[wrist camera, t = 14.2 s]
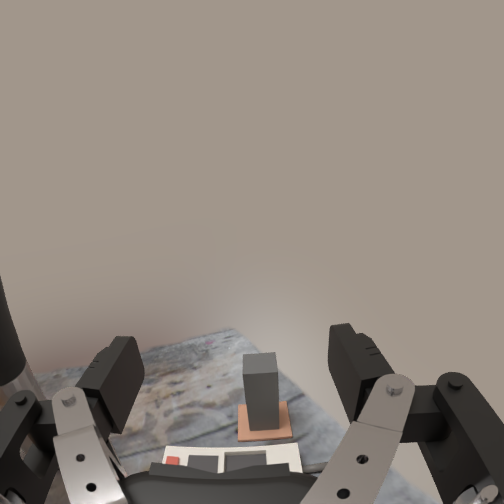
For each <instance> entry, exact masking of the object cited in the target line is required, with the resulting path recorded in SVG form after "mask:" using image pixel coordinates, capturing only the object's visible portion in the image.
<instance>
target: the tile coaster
mask: <svg viewBox="0 0 504 504" xmlns="http://www.w3.org/2000/svg"><path fill="white" fill-rule="evenodd" d="M285 438H292V432H291V426H290V420H289V414H288V408H287V403H286V401H283V402H279V429H276V430H262V431H250V429H249V422H248V414H247V406H246V404H244V405H238V442H247V441H263V440H275V439H285Z"/></svg>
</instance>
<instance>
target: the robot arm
mask: <svg viewBox="0 0 504 504" xmlns="http://www.w3.org/2000/svg"><path fill="white" fill-rule="evenodd" d="M328 366H329V371H330V373H331V376H332V378H333V381H334V383H335V386H336V388H337V391H338V393H339V396H340V398H341V401H342V404H343V406H344V409H345V412H346V414H347V417H348V419H349V422H350V424H351V425H350V427H349V429H348V430H347V432H346V434H345V436H344V437H343V439H342V441H341V442H340V444H339V446H338V448H337V449H336V451H335V452H334V454H333V456H332V457H331V459H330V460H329V462H328V464H327V465H326V467H325V468H324V470H323V471H322V473H321V474H320V476H319V477H315V476H313V475H309V474H305V473H300V472H292V471H290V468H289V463H280V464H269V465H254V466H250V467H246V468H241V469H237V470H233V471H228V472H223V473H212V472H208V471H204V470H199V469H195V468H192V467H188V466H184V465H173V464H162V463H153V462H152V463H151V466H150V470H149V471H145V472H140V473H136V474H132V475H130V476H128V475H127V473H126V471H125V470H124V468H123V466H122V464H121V462H120V460H119V458H118V456H117V454H116V452H115V449H114V447H113V445H112V443H111V441H110V439H109V438H108V437H109V435H110V432H111V433H117V434H122V431H123V429H124V426H125V424H126V421H127V419H128V416H129V414H130V411H131V409H132V406H133V404H134V402H135V399H136V397H137V394H138V392H139V390H140V387H141V385H142V383H143V380H144V374H145V372H144V366H143V362H142V359H141V356H140V353H139V350H138V346H137V343H136V340H135V338H134V337H132V336H130V337H128V336H116V337H115V339H114V340H113V341H112V343H111V344H110V346H109V347H106V348H104V349H103V350H102V351H100V352H99V353H98V354H97V355H96V357H95V358H94V359H93V362H91V364H90V365H89V368H87V370H86V371H85V372H84V374H83V375H82V377H81V378H80V380H79V381H78V383H77V384H76V386H75V387H67V388H64V389H62V390H60V391H58V392H57V393H56V394H55V395H54V397H53V399H52V400H47V399H46V397H45V396H44V394H43V392H42V390H41V388H40V386H39V384H38V382H37V380H36V378H35V376H34V375H33V373H32V370H31V369H30V366H29V364H28V362H27V360H26V358H25V356H24V353H23V351H22V348H21V345H20V342H19V339H18V336H17V333H16V330H15V327H14V325H13V321H12V319H11V315H10V312H9V309H8V305H7V301H6V297H5V293H4V289H3V285H2V281H1V277H0V504H44V502H45V499H46V497H47V494H48V491H49V489H50V486H51V484H52V481H53V479H54V476H55V474H56V471H57V469H59V468H60V471H61V474H62V478H63V481H64V485H65V488H66V491H67V494H68V497H69V500H70V503H71V504H373V503H374V501H375V499H376V497H377V495H378V492H379V490H380V488H381V486H382V484H383V482H384V479H385V477H386V475H387V473H388V470H389V468H390V465H391V463H392V460H393V458H394V455H395V453H396V450H397V447H398V445H399V443H409V442H417V443H418V445H419V447H420V450H421V452H422V454H423V456H424V459H425V461H426V463H427V466H428V468H429V470H430V473H431V475H432V477H433V480H434V482H435V484H436V487H437V489H438V492H439V494H440V497H441V499H442V502H443V504H504V424H503V422H502V421H501V420H500V418H499V417H498V416H497V414H496V413H495V411H494V410H493V409H492V408H491V406H490V405H489V403H488V402H487V401H486V399H485V398H484V397H483V396H482V394H481V393H480V392H479V391H478V389H477V388H476V387H475V386H474V384H473V383H472V382H471V381H470V379H469V378H468V377H467V376H465V375H463V374H461V373H456V372H448V373H445V374H443V375H441V376H440V377H439V378H438V380H437V383H436V385H429V386H428V385H427V386H415V385H414V383H413V382H412V381H411V379H409V378H408V377H406V376H404V375H400V374H395V373H394V371H393V370H392V368H391V367H390V365H389V364H388V362H387V361H386V359H385V358H384V356H383V355H382V354H381V352H380V350H379V349H378V348H377V346H376V345H375V343H374V342H373V341H372V339H371V338H369V337H368V336H366V335H365V334H363V333H359V334H356V333H355V331H354V330H353V328H352V327H351V325H350V324H349V323H345V324H338V325H332V326H331V327H330V332H329V348H328ZM20 447H21V448H22V449H23V451H24V452H25V453H26V456H25V458H24V460H22V459H21V457H20Z"/></svg>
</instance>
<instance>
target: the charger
mask: <svg viewBox="0 0 504 504" xmlns="http://www.w3.org/2000/svg"><path fill="white" fill-rule="evenodd" d="M243 382H244V390H245V398H246V406H247V414H248V422H249V429H250V431H262V430H276V429H279V389H278V368H277V361H276V355H275V352H273V353H259V354H243Z"/></svg>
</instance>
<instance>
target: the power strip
mask: <svg viewBox="0 0 504 504" xmlns="http://www.w3.org/2000/svg"><path fill="white" fill-rule="evenodd" d="M280 463H289V468H290V471H292V472H300V473H312V472H318V471H323V470H324V468H325V467H326V465H327V464H328V462H324V463H319V464H312V465H306V466H301V461H300V455H299V450H298V444H297V443H290V444H281V445H270V446H257V447H235V448H197V447H175V446H166V449H165V453H164V457H163V462H162V464H173V465H184V466H188V467H192V468H195V469H199V470H204V471H208V472H212V473H223V472H228V471H233V470H237V469H241V468H246V467H250V466H254V465H269V464H280Z"/></svg>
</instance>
